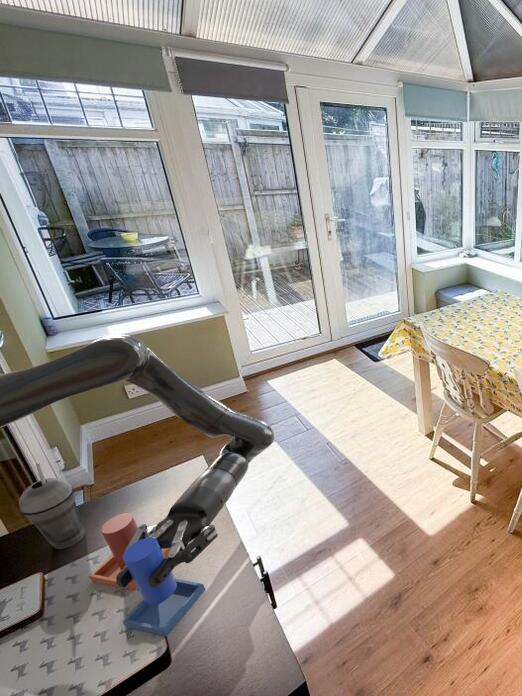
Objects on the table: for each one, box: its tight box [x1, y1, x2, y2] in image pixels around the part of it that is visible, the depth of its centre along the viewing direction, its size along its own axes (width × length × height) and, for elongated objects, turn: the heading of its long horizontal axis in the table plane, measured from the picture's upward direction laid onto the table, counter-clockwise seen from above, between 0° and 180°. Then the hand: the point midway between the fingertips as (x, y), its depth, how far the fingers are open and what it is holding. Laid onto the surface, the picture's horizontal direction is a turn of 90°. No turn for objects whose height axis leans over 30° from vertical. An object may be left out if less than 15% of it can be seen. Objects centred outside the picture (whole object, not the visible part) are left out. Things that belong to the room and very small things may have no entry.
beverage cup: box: [18, 463, 86, 550], centre depth 80 cm, size 7×7×20 cm
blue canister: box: [123, 538, 177, 605], centre depth 69 cm, size 4×4×11 cm
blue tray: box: [122, 577, 206, 638], centre depth 73 cm, size 8×8×2 cm
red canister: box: [100, 512, 139, 570], centre depth 78 cm, size 4×4×11 cm
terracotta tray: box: [88, 548, 171, 591], centre depth 80 cm, size 9×9×2 cm
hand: (136, 583), depth 66 cm, fingers closed on blue canister, 4 cm apart
